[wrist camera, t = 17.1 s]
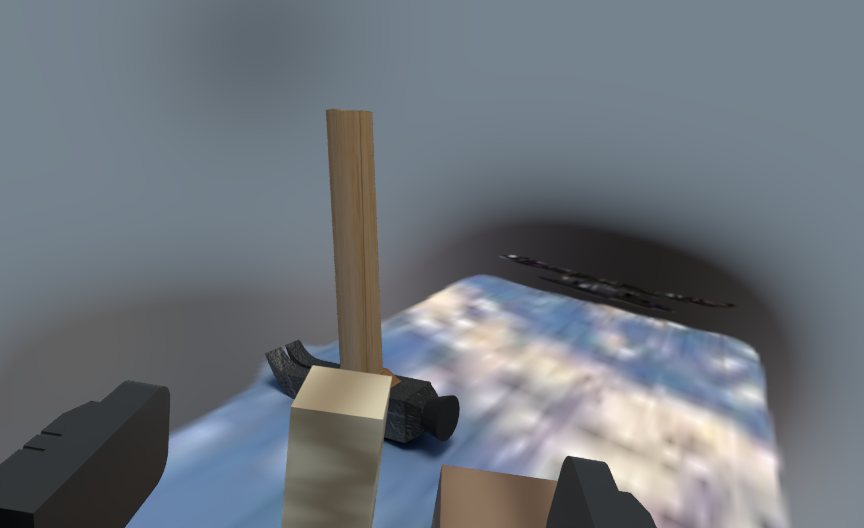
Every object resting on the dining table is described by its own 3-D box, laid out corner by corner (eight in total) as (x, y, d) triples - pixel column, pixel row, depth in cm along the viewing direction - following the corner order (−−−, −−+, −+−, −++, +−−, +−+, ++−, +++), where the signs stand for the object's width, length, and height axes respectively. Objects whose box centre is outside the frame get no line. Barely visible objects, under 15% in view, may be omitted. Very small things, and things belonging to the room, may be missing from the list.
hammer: (269, 407, 58) (245, 115, 53) (302, 390, 62) (283, 118, 57) (435, 452, 49) (427, 100, 43) (460, 428, 53) (456, 105, 47)
